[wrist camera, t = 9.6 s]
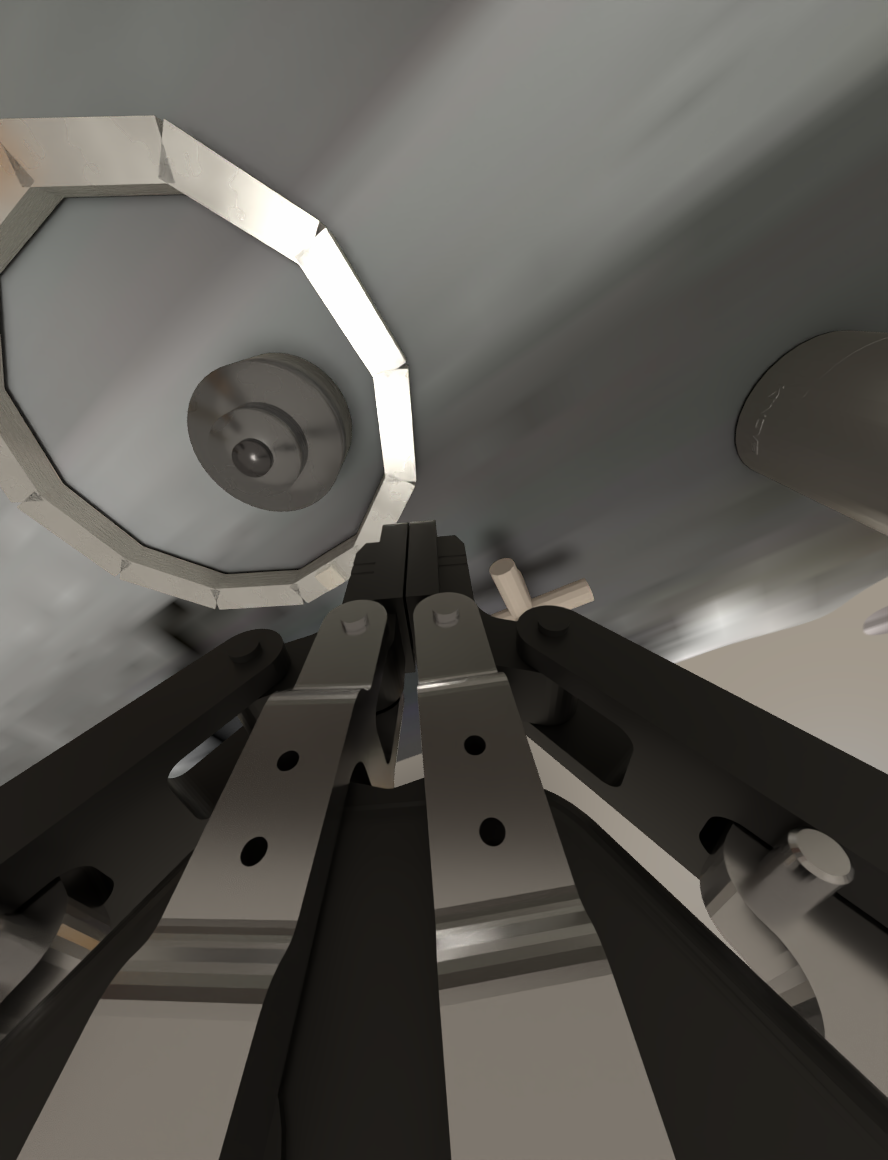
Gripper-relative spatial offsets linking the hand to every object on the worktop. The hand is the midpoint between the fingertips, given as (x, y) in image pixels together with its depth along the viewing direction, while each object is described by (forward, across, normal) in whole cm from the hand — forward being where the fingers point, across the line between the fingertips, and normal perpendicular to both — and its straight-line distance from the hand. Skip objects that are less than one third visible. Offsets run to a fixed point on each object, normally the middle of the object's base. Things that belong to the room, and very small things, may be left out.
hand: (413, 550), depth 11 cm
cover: (+17, +8, 0) cm, 19 cm away
